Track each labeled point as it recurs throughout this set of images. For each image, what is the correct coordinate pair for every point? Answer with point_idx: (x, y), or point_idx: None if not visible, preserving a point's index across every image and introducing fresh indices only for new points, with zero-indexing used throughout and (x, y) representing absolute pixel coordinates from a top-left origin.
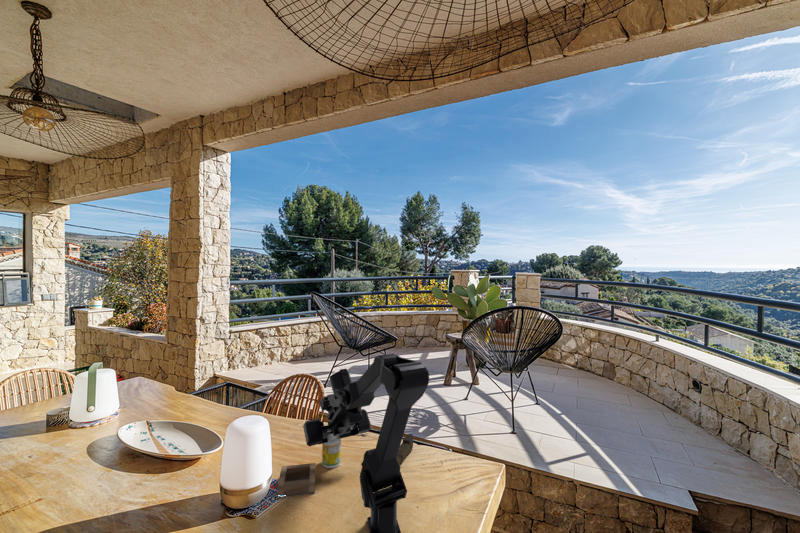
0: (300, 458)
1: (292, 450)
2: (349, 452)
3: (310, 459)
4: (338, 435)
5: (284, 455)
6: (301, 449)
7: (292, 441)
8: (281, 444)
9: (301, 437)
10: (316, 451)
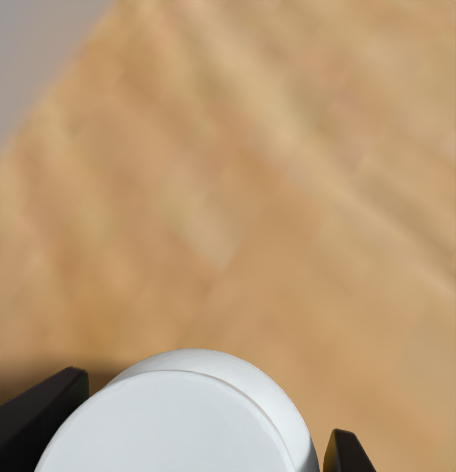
0: (103, 217)
1: (129, 102)
2: (437, 393)
3: (141, 273)
4: (332, 450)
5: (60, 124)
6: (176, 123)
7: (192, 15)
8: (126, 11)
9: (260, 4)
10: (235, 205)
